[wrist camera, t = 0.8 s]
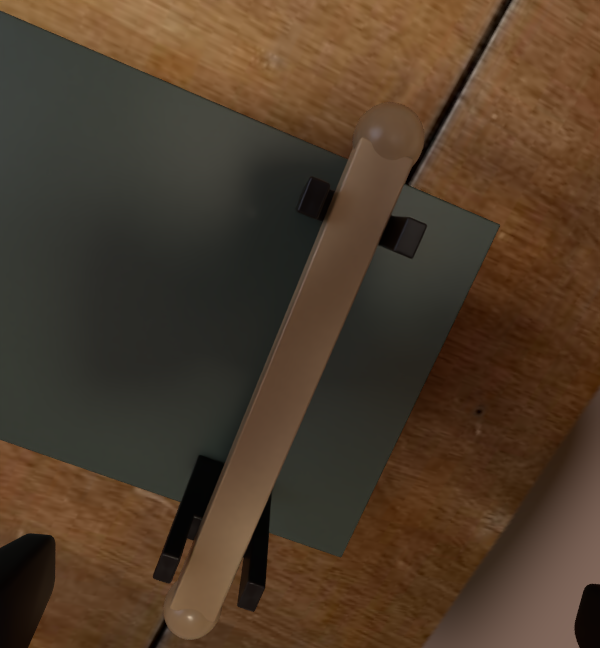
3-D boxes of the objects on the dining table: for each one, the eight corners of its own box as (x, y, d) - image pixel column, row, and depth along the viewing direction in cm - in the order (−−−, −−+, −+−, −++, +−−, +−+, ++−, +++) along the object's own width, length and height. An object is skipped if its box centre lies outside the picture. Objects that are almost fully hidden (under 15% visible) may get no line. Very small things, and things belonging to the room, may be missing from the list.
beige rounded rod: (425, 125, 16) (445, 113, 14) (214, 615, 19) (205, 661, 17) (364, 98, 15) (375, 82, 13) (163, 598, 19) (149, 643, 17)
